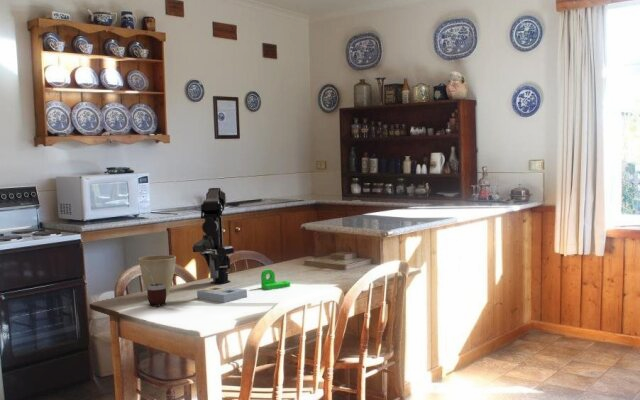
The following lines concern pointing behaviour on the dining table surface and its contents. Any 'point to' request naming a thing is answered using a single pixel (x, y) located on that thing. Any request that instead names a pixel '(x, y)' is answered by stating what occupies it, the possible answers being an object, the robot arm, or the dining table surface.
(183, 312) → the dining table surface
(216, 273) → the pin
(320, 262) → the dining table surface
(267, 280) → the mechanical part
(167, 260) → the plant pot
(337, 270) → the dining table surface
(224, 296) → the socket board
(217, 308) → the dining table surface
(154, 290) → the mate gourd
